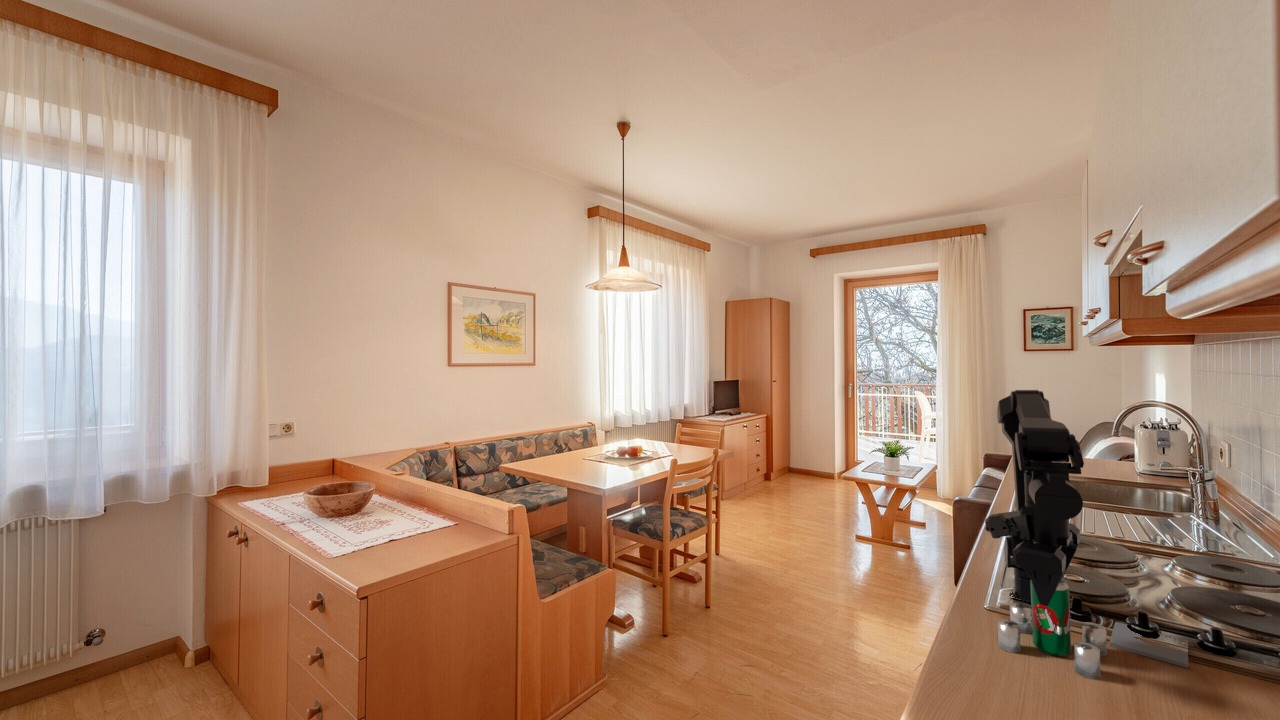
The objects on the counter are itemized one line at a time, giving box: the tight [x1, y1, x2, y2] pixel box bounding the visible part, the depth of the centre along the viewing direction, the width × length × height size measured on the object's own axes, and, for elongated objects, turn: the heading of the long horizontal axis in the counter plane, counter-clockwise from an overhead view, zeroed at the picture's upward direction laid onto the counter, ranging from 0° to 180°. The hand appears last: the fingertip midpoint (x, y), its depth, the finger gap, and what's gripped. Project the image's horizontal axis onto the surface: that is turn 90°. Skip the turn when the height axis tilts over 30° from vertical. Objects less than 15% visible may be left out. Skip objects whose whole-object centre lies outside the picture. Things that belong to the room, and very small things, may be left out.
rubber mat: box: [1108, 621, 1190, 669], centre depth 86 cm, size 9×9×1 cm
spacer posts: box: [997, 602, 1108, 680], centre depth 86 cm, size 11×13×4 cm
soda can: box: [1030, 577, 1072, 657], centre depth 86 cm, size 5×5×12 cm
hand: (1049, 594), depth 86 cm, fingers open, 9 cm apart
